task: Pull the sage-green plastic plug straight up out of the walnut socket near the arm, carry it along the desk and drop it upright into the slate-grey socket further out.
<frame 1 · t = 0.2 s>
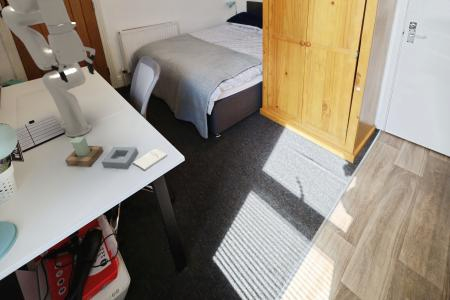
hand: (79, 77, 105), 36 cm above the table, tool pointing down, fingers open, 9 cm apart
external hard drive: (150, 161, 121), on the table
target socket: (121, 159, 122), on the table
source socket: (86, 158, 125), on the table
plug: (82, 149, 122), in the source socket
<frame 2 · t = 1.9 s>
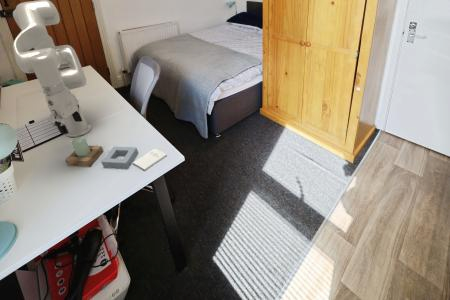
hand: (72, 127, 115), 16 cm above the table, tool pointing down, fingers open, 9 cm apart
nothing on the table moved.
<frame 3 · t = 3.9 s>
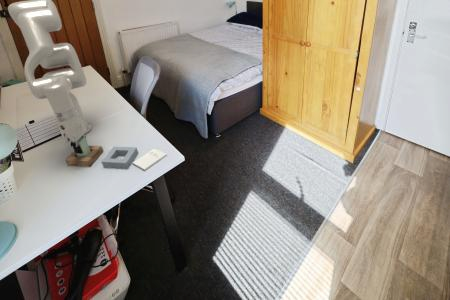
hand: (82, 149, 122), 5 cm above the table, tool pointing down, fingers closed on plug, 4 cm apart
plug: (82, 149, 122), in the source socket, touching gripper
everything else where it was.
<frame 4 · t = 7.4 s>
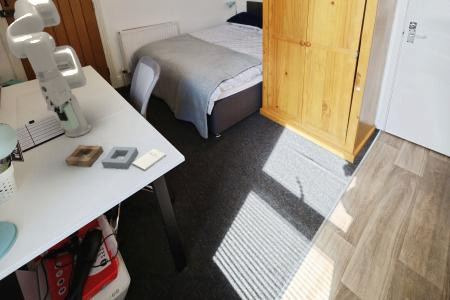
hand: (67, 117, 113), 21 cm above the table, tool pointing down, fingers closed on plug, 4 cm apart
plug: (67, 116, 112), point 21 cm above the table, touching gripper
everything else where it was.
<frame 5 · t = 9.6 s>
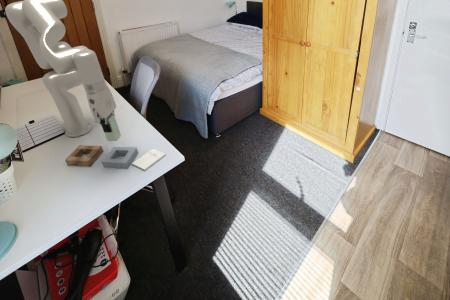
hand: (110, 128, 112), 16 cm above the table, tool pointing down, fingers closed on plug, 4 cm apart
plug: (110, 127, 112), point 17 cm above the table, touching gripper
everything else where it was.
when the fingers open (6 cm above the table, at t = 11.2 s): plug drops 2 cm, resting in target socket.
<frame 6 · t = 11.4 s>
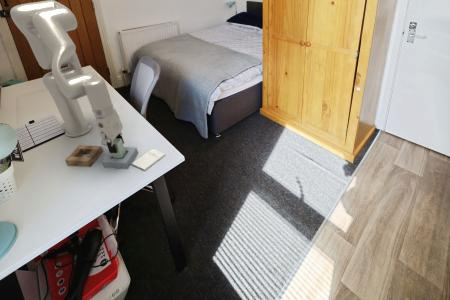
hand: (117, 147, 118), 7 cm above the table, tool pointing down, fingers open, 5 cm apart
plug: (118, 150, 119), in the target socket
everything else where it was.
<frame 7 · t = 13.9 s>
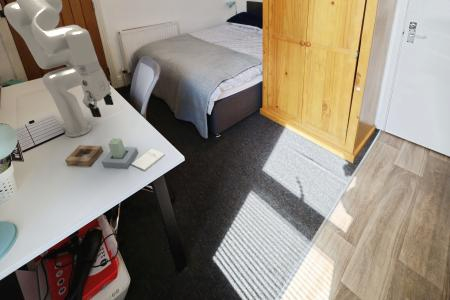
hand: (103, 110, 108), 24 cm above the table, tool pointing down, fingers open, 9 cm apart
nothing on the table moved.
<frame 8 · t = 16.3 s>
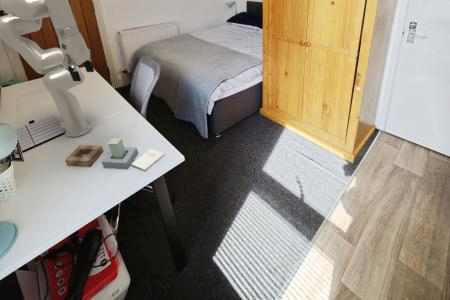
hand: (84, 76, 114), 33 cm above the table, tool pointing down, fingers open, 9 cm apart
nothing on the table moved.
at the end: plug 0.0 cm off-centre on the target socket, point 5.0 cm above the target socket's base; plug tilted 0°; the gripper is holding nothing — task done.
